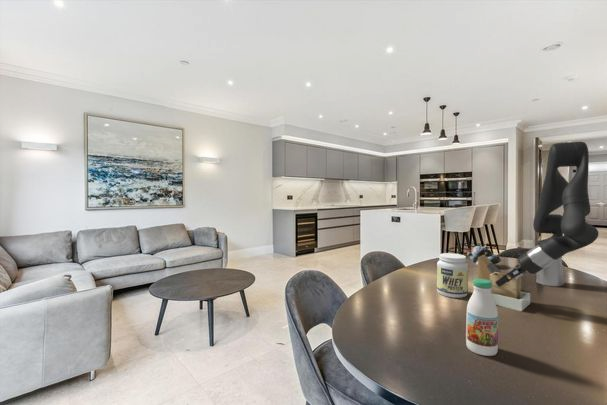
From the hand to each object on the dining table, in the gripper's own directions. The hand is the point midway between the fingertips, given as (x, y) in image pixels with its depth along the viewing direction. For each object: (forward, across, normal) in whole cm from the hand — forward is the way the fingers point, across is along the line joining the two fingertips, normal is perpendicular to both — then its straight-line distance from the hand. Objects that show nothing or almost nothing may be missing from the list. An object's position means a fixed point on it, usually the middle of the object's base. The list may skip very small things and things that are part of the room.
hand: (500, 282), depth 120 cm
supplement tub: (+18, +6, -6) cm, 19 cm away
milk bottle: (-1, +46, +12) cm, 47 cm away
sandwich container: (+9, -13, +3) cm, 16 cm away
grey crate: (+5, 0, +6) cm, 8 cm away
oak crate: (+4, 0, +6) cm, 7 cm away
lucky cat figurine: (+23, -54, -12) cm, 60 cm away
